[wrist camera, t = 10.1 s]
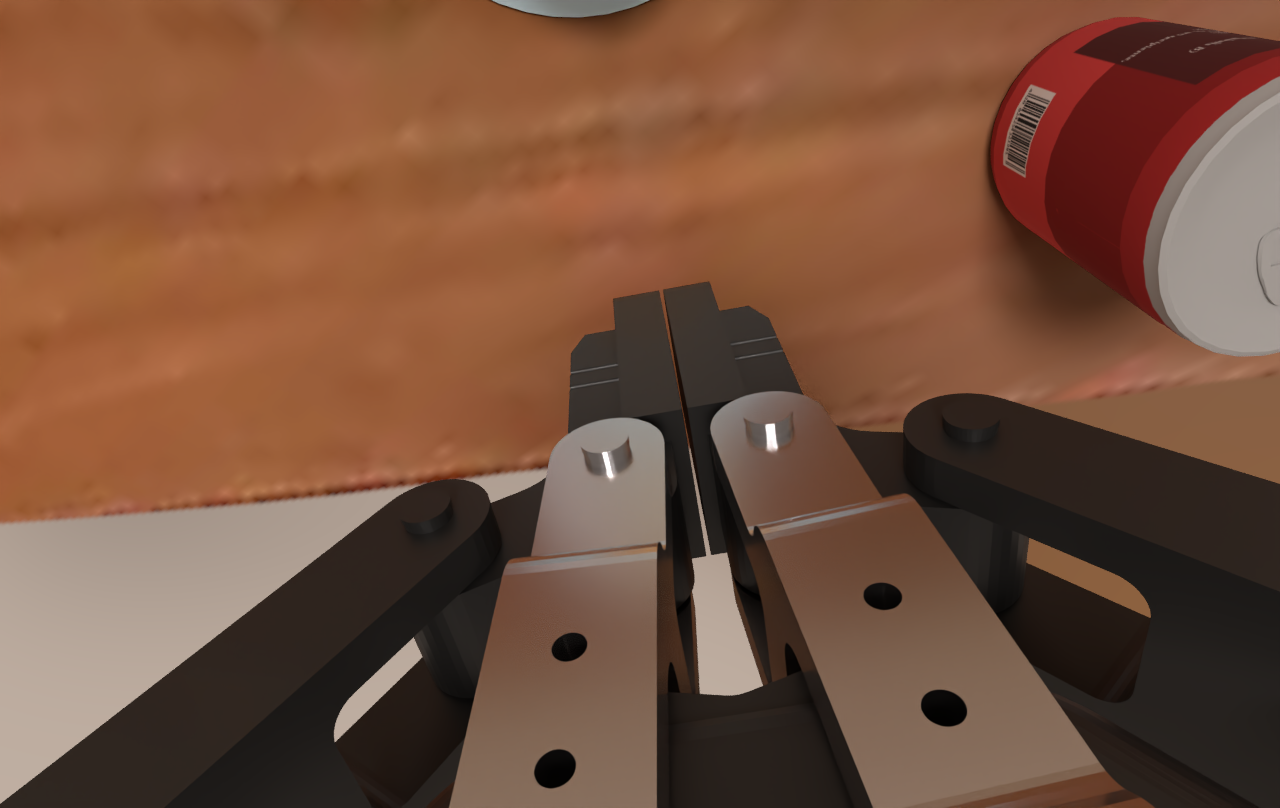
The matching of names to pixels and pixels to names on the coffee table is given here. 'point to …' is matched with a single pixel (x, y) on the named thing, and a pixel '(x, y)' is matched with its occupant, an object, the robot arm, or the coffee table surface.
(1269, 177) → the canned food
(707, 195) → the coffee table surface
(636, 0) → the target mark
